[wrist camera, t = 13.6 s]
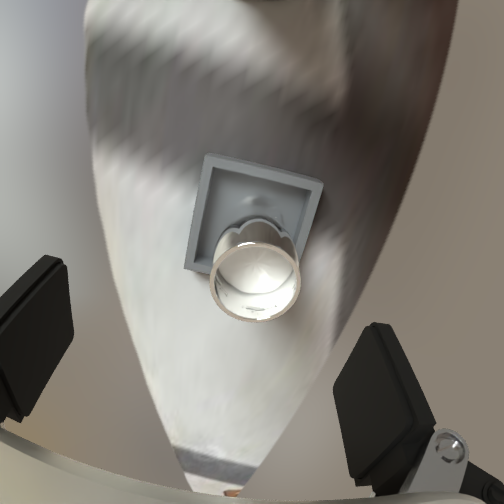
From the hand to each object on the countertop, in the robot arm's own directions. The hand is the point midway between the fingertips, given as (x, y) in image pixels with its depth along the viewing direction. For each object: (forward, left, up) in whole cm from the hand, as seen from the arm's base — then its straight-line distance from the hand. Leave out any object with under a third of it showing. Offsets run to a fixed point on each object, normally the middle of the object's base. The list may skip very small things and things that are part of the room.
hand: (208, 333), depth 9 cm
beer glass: (+5, +3, -28) cm, 28 cm away
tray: (+5, +2, -28) cm, 29 cm away
